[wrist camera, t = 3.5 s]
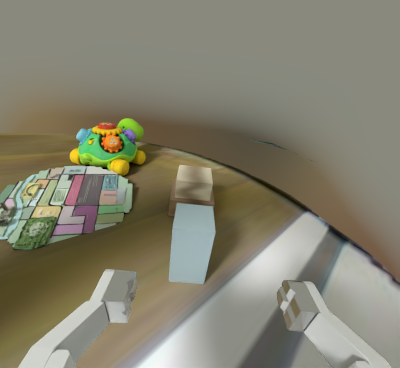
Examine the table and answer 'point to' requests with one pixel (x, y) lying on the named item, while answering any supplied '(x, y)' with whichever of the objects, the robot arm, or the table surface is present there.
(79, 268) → the table surface
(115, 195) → the city model
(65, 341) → the robot arm
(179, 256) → the tall brick
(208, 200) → the tower base
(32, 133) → the table surface
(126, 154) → the turtle toy
